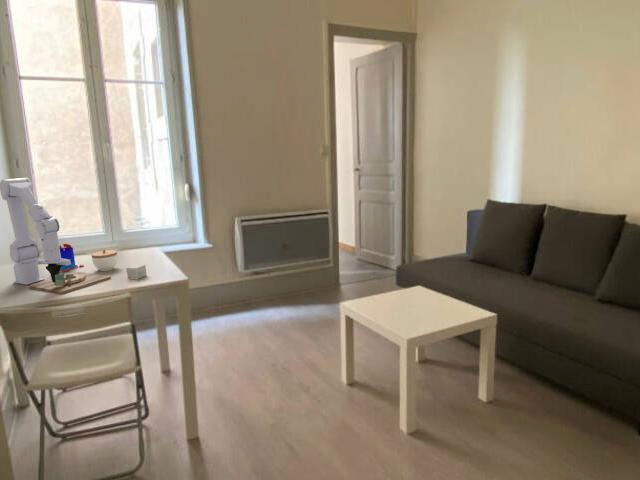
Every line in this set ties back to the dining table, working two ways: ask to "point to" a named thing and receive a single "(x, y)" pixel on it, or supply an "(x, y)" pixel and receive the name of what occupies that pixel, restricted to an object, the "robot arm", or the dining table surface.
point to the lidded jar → (105, 260)
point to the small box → (136, 271)
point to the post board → (69, 287)
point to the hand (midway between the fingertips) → (56, 281)
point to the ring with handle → (62, 280)
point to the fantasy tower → (68, 254)
